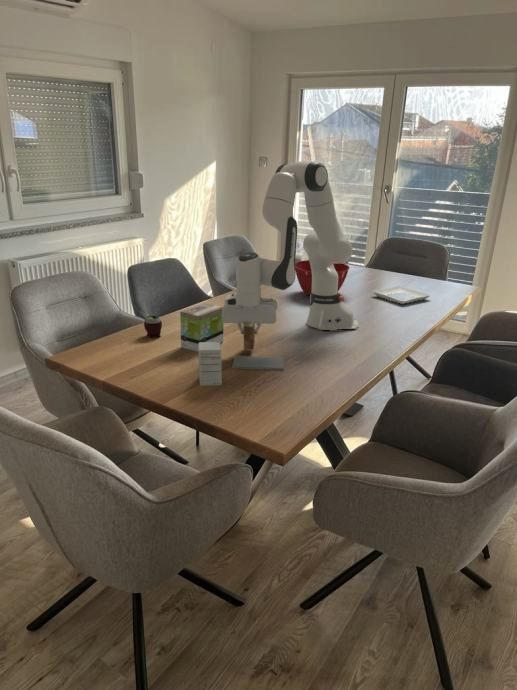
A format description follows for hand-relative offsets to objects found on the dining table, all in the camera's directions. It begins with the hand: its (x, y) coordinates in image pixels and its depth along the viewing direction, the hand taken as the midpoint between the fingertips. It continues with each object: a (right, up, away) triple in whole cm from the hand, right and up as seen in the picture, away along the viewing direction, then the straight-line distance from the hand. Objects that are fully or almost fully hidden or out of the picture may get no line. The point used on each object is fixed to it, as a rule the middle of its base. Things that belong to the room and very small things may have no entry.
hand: (249, 333), depth 198 cm
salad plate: (+76, +19, +74) cm, 108 cm away
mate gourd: (-39, -1, +18) cm, 43 cm away
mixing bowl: (+36, +22, +79) cm, 89 cm away
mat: (+3, -11, -8) cm, 14 cm away
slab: (0, -4, +2) cm, 5 cm away
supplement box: (-13, -16, -22) cm, 30 cm away
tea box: (-18, -4, +9) cm, 21 cm away
